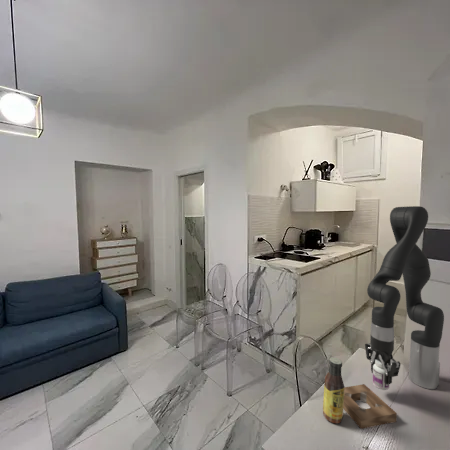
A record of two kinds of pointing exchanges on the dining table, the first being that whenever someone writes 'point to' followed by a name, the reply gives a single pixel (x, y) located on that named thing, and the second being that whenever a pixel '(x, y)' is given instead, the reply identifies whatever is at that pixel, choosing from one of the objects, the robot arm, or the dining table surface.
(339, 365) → the sauce bottle
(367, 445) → the dining table surface
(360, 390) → the mount
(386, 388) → the pill bottle
